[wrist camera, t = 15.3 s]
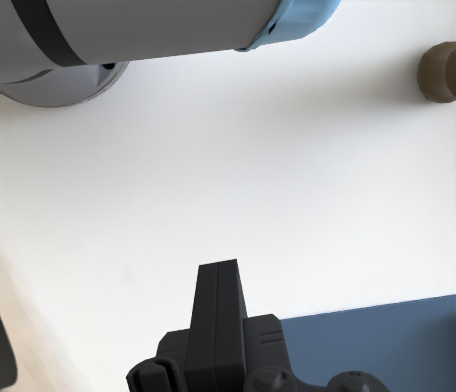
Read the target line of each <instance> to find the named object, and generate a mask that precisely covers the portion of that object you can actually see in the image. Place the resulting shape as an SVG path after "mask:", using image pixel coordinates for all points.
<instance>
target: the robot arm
mask: <svg viewBox="0 0 456 392" xmlns="http://www.w3.org/2000/svg"><path fill="white" fill-rule="evenodd" d="M340 1H341V0H0V94H2V95H4V96H6V97H8V98H10V99H12V100H15V101H17V102H20V103H23V104H27V105H31V106H36V107H64V106H72V105H76V104H80V103H83V102H86V101H89V100H91V99H93V98H95V97H97V96H98V95H100V94H102V93H103V92H104V91H106V90H107V89H108V88H109V87H111V86H112V85H113V84H114V83H115V82H116V81H117V79H118V78H119V77H120V76H121V74H122V73H123V72H124V70H125V69H126V67H127V65H128V63H129V61H133V60H142V59H151V58H160V57H169V56H177V55H186V54H195V53H204V52H213V51H221V50H230V49H234V50H235V51H238V52H247V51H249V50H251V49H255V48H257V47H258V46H260V45H265V44H271V43H277V42H283V41H289V40H295V39H300V38H303V37H305V36H307V35H308V34H310V33H312V32H314V31H316V29H317V28H319V27H321V26H322V25H323V24H324V23H325V22H326V21H327V20H328V19H329V18H330V16H331V15H332V14H333V12H334V11H335V9H336V8H337V6H338V5H339V3H340ZM126 379H127V383H128V387H129V390H130V392H390V391H389V390H388V389H387V387H386V386H385V385H384V384H383V383H382V382H381V381H380V380H379V379H377V378H376V377H375V376H373V375H372V374H369V373H366V372H363V371H346V372H341V373H339V374H337V375H335V376H333V377H332V378H331V380H330V381H329V382H328V384H327V387H326V386H316V385H310V384H308V383H305V382H303V381H301V380H300V379H298V378H297V377H296V376H295V375H294V373H293V371H292V368H291V364H290V360H289V355H288V351H287V347H286V342H285V338H284V334H283V329H282V325H281V321H280V320H279V319H278V318H277V317H276V316H274V315H273V314H267V315H261V316H255V317H249V318H248V317H247V312H246V306H245V301H244V296H243V291H242V285H241V280H240V275H239V269H238V264H237V259H233V260H227V261H221V262H215V263H209V264H204V265H199V269H198V276H197V283H196V290H195V297H194V303H193V310H192V317H191V324H190V329H184V330H178V331H171V332H167V333H166V335H165V336H164V337H163V338H162V339H161V341H160V342H159V345H158V349H157V354H156V356H155V357H153V358H150V359H146V360H144V361H142V362H140V363H138V364H137V365H136V366H134V367H133V368H132V369H131V370H130V371H129V373H128V374H127V376H126Z"/></svg>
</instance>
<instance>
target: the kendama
mask: <svg viewBox="0 0 456 392" xmlns="http://www.w3.org/2000/svg"><path fill="white" fill-rule="evenodd" d="M418 82H419V86H420V90H421V91H422V93H423V94H424V95H425V97H426V98H427V99H429V100H432V101H434V102H436V103H450V102H453V101H456V42H444V43H441V44H439V45H436V46H433V47H432V48H431V49H430V50H428V51H427V52H426V53H425V54H424V55H423V57H422V59H421V61H420V64H419V66H418Z"/></svg>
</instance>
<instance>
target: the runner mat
mask: <svg viewBox="0 0 456 392" xmlns="http://www.w3.org/2000/svg"><path fill="white" fill-rule="evenodd" d="M280 321H281V325H282V329H283V334H284V338H285V342H286V347H287V351H288V355H289V360H290V364H291V368H292V371H293V373H294V375H295V376H296V377H297V378H298V379H300V380H301V381H303V382H305V383H308V384H310V385H316V386H326V387H327V384H328V382H329V381H330V380H331V378H332V377H333V376H335V375H337V374H339V373H341V372H346V371H363V372H366V373H369V374H372V375H373V376H375V377H376V378H377V379H379V380H380V381H381V382H382V383H383V384H384V385H385V386H386V387H387V389H388V390H389V391H390V392H456V295H449V296H442V297H435V298H428V299H421V300H414V301H408V302H401V303H394V304H387V305H380V306H373V307H366V308H359V309H352V310H345V311H338V312H331V313H324V314H317V315H311V316H304V317H297V318H290V319H283V320H280Z"/></svg>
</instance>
